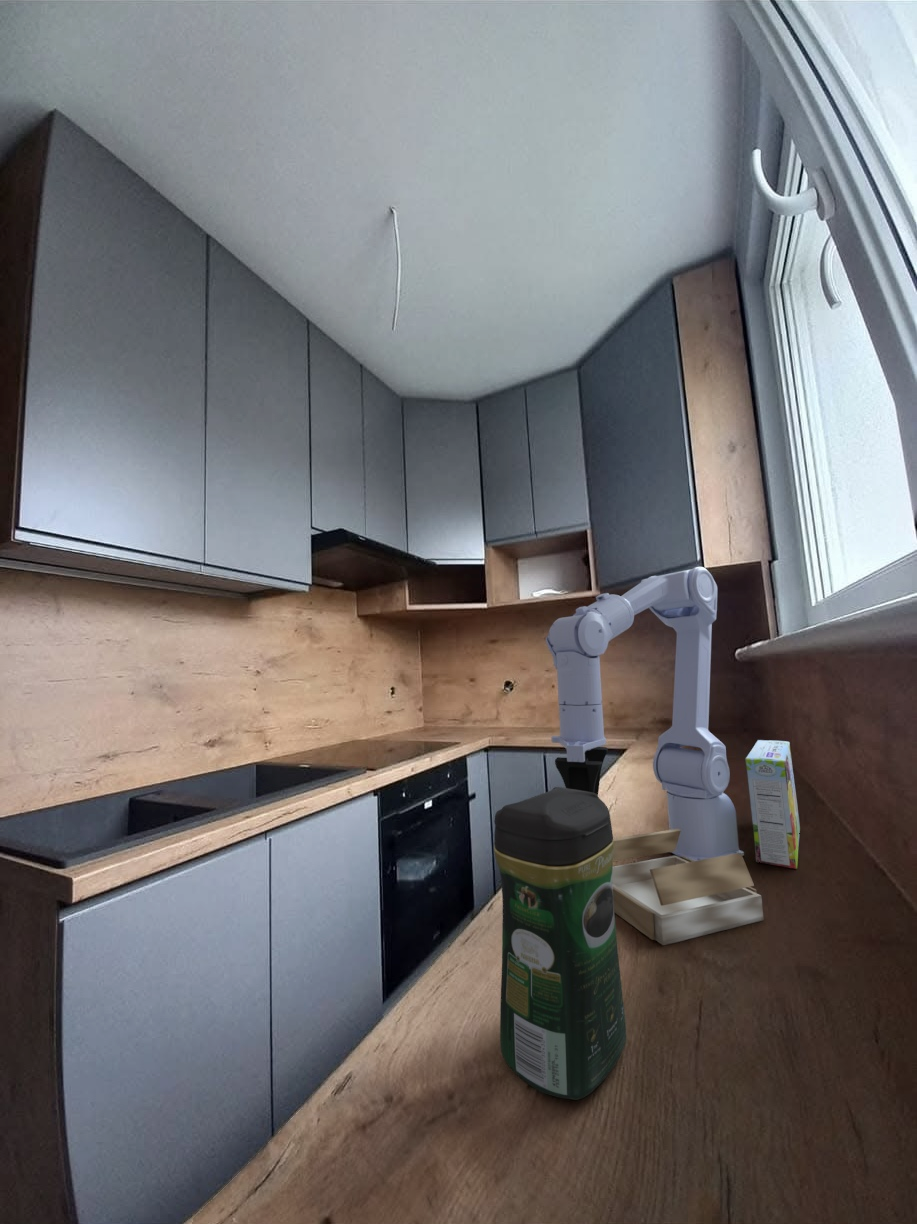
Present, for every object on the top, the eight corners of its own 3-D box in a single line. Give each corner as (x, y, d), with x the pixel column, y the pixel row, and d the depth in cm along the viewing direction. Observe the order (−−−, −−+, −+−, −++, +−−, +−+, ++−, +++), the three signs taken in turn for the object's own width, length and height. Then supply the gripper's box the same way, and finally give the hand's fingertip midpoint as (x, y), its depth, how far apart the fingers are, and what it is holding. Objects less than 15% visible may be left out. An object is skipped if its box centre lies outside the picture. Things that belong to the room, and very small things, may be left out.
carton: (679, 874, 67) (677, 853, 67) (766, 919, 54) (764, 893, 55) (586, 893, 62) (585, 870, 62) (659, 946, 50) (657, 917, 50)
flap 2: (751, 885, 55) (738, 853, 57) (754, 885, 55) (740, 852, 57) (661, 905, 51) (649, 869, 53) (663, 905, 51) (651, 869, 52)
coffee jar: (551, 996, 42) (543, 776, 45) (640, 1040, 37) (626, 789, 39) (480, 1062, 35) (474, 797, 38) (578, 1130, 30) (565, 816, 32)
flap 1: (672, 848, 66) (678, 828, 66) (674, 850, 66) (680, 830, 65) (593, 862, 62) (598, 840, 61) (594, 864, 62) (600, 843, 61)
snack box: (763, 824, 88) (756, 738, 89) (801, 829, 84) (792, 741, 86) (752, 862, 70) (743, 756, 72) (799, 871, 67) (789, 759, 69)
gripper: (559, 700, 73) (563, 793, 72) (539, 708, 60) (544, 822, 58) (607, 700, 71) (613, 796, 69) (598, 708, 57) (605, 828, 56)
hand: (585, 809), depth 64 cm, fingers open, 7 cm apart
